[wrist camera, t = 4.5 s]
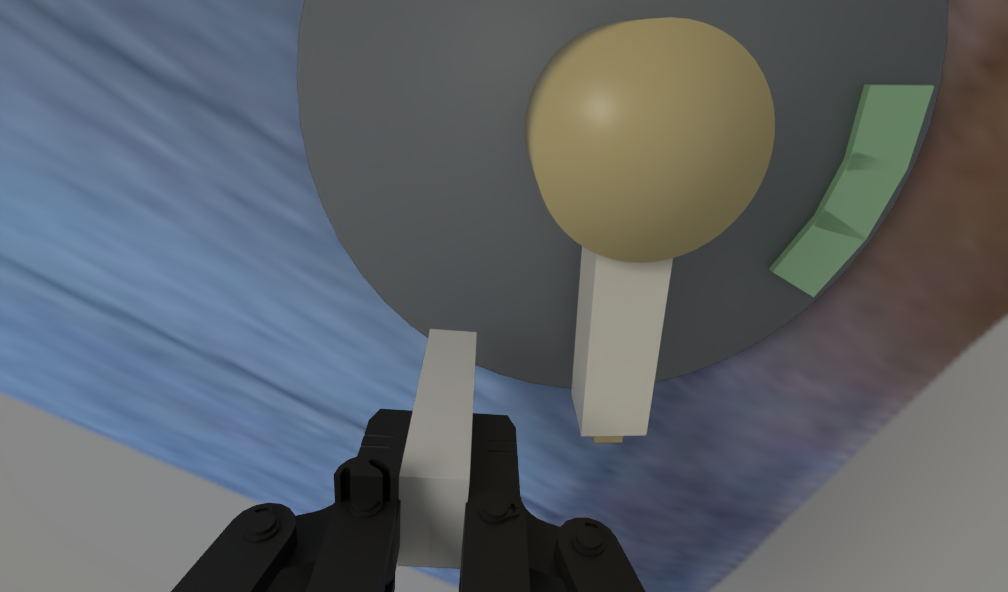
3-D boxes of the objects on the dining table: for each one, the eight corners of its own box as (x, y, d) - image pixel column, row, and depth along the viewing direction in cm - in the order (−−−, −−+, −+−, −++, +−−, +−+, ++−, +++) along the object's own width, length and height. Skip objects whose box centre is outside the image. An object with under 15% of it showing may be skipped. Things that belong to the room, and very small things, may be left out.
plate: (347, 374, 22) (338, 396, 21) (254, -292, 14) (229, -327, 12) (826, 370, 23) (848, 390, 22) (1025, -274, 14) (1082, -306, 13)
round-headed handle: (527, 20, 16) (538, 16, 12) (730, 22, 16) (801, 18, 12) (518, 395, 22) (524, 468, 18) (668, 394, 22) (704, 465, 18)
